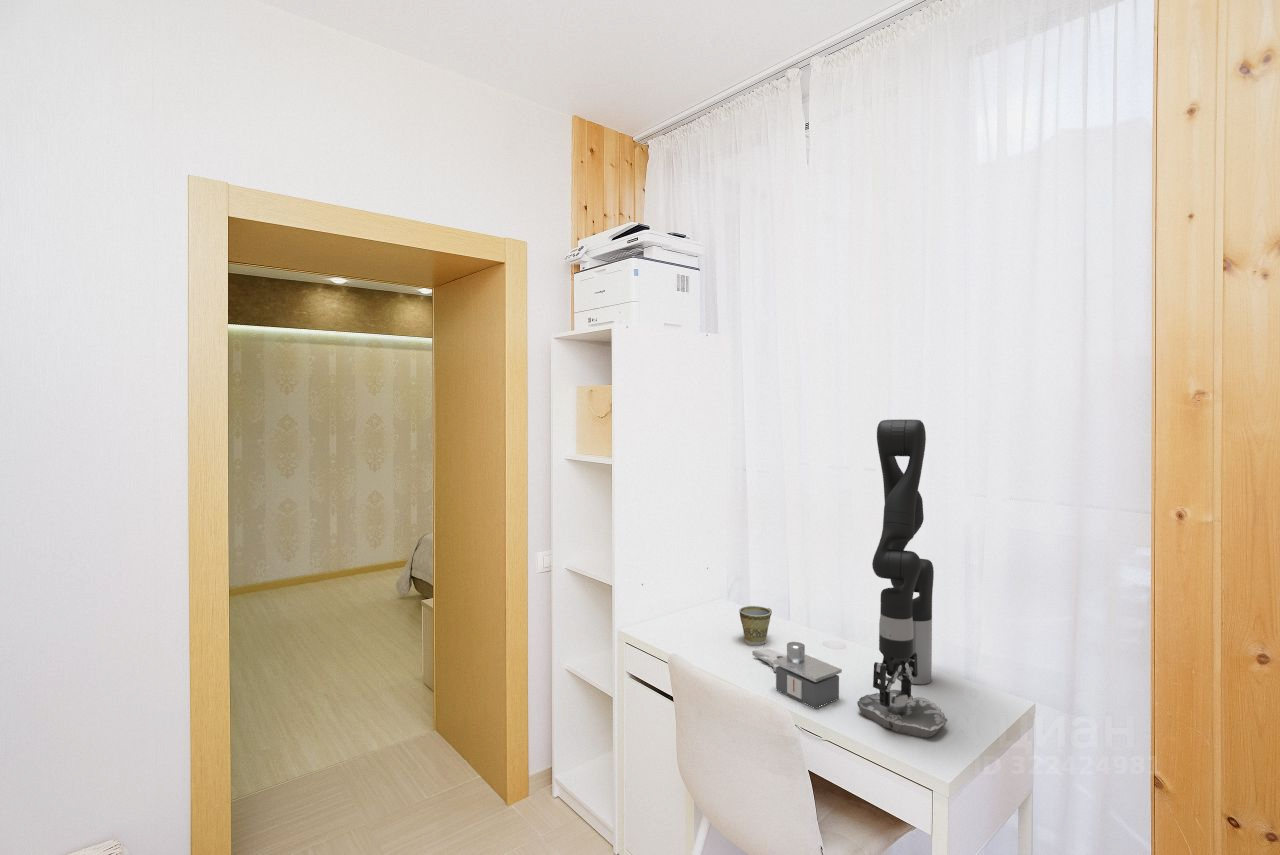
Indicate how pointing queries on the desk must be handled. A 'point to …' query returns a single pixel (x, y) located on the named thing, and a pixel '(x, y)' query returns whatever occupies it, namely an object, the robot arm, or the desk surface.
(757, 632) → the ceramic cup
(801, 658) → the cylinder
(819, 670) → the pan
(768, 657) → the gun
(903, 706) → the cylinder
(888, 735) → the desk surface
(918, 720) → the brain slice
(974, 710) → the desk surface
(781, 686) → the scale
